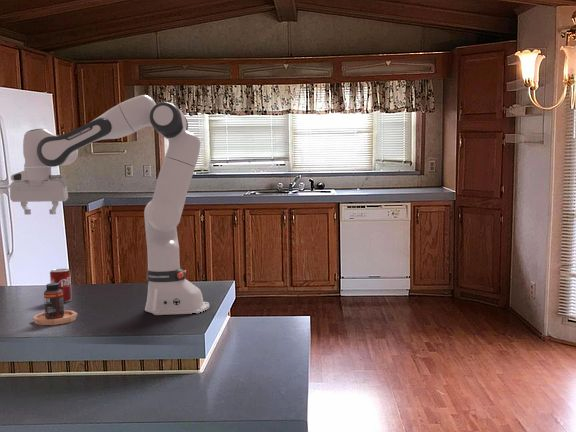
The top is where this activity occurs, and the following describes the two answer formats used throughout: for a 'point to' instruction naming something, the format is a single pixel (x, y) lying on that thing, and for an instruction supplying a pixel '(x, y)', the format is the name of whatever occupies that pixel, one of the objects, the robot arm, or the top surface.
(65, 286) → the soda can
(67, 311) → the dish
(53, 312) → the supplement bottle
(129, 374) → the top surface
